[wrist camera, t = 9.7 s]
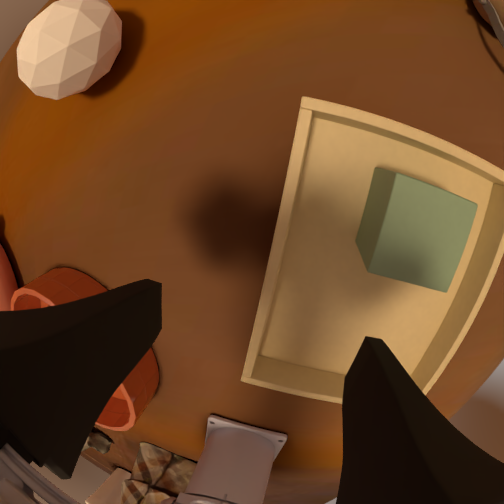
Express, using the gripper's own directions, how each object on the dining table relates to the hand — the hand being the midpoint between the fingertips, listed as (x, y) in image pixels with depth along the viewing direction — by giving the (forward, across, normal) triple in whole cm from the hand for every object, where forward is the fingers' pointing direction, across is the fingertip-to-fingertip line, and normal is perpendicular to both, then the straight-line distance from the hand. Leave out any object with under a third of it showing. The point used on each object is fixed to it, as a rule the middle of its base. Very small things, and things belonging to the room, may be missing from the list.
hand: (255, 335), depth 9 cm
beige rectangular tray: (+8, -6, 0) cm, 10 cm away
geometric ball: (+9, +16, -12) cm, 22 cm away
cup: (+8, +20, +58) cm, 62 cm away
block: (+8, -6, -4) cm, 11 cm away
